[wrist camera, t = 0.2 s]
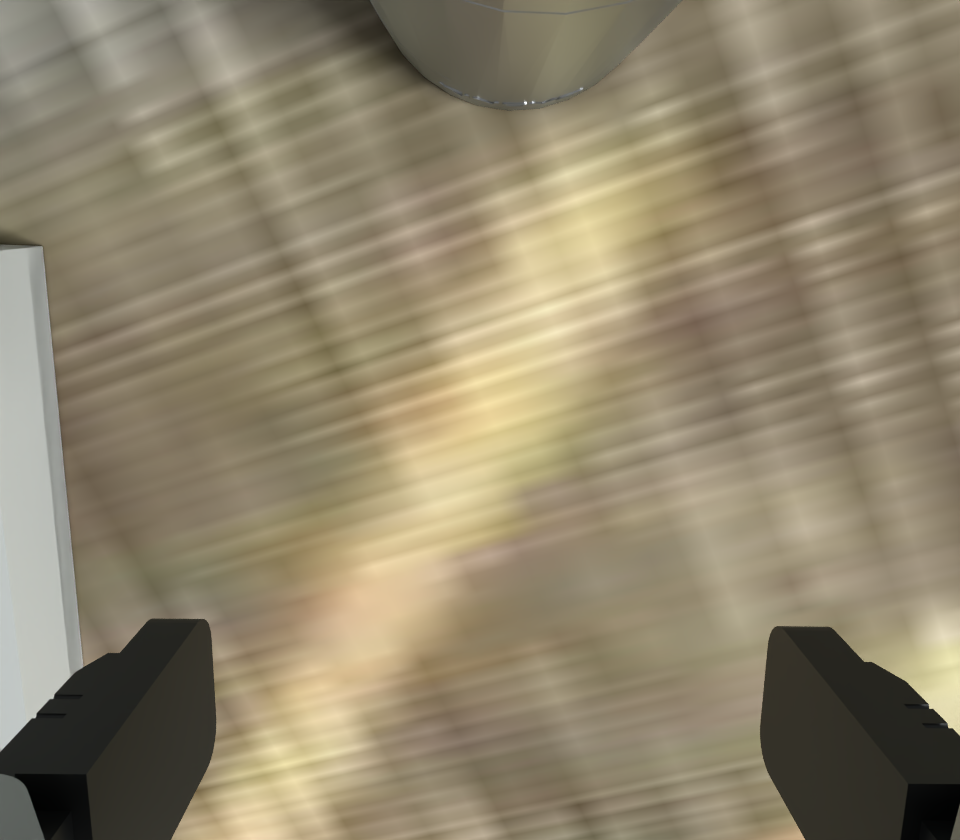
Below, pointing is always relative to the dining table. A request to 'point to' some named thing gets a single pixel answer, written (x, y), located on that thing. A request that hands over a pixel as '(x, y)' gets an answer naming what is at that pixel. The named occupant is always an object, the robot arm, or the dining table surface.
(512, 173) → the dining table surface
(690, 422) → the dining table surface
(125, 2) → the dining table surface
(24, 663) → the tray
